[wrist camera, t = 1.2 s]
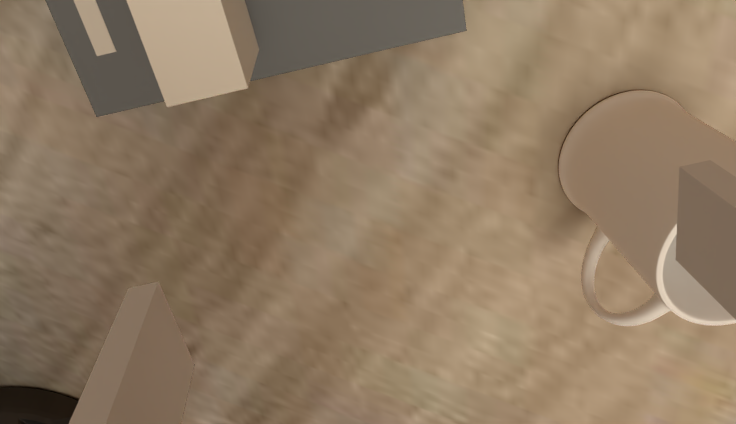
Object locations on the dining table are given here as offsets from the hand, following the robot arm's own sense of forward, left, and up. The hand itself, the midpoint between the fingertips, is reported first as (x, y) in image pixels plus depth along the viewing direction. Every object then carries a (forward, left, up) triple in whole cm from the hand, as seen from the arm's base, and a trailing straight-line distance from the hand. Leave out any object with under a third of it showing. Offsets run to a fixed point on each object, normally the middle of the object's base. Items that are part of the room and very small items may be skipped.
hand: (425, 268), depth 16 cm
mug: (+14, -11, -22) cm, 28 cm away
